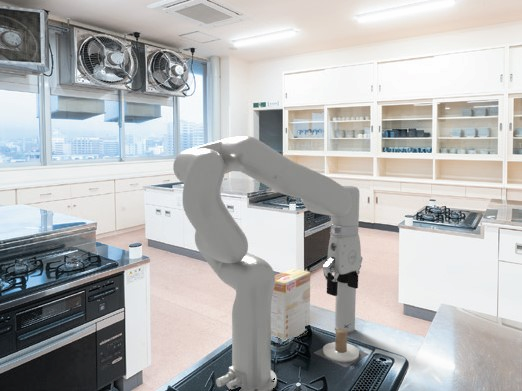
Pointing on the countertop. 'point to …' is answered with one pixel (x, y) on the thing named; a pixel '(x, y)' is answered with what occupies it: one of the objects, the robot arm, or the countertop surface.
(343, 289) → the travel mug
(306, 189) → the robot arm
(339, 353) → the lid
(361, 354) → the mat
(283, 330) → the coffeecake box
